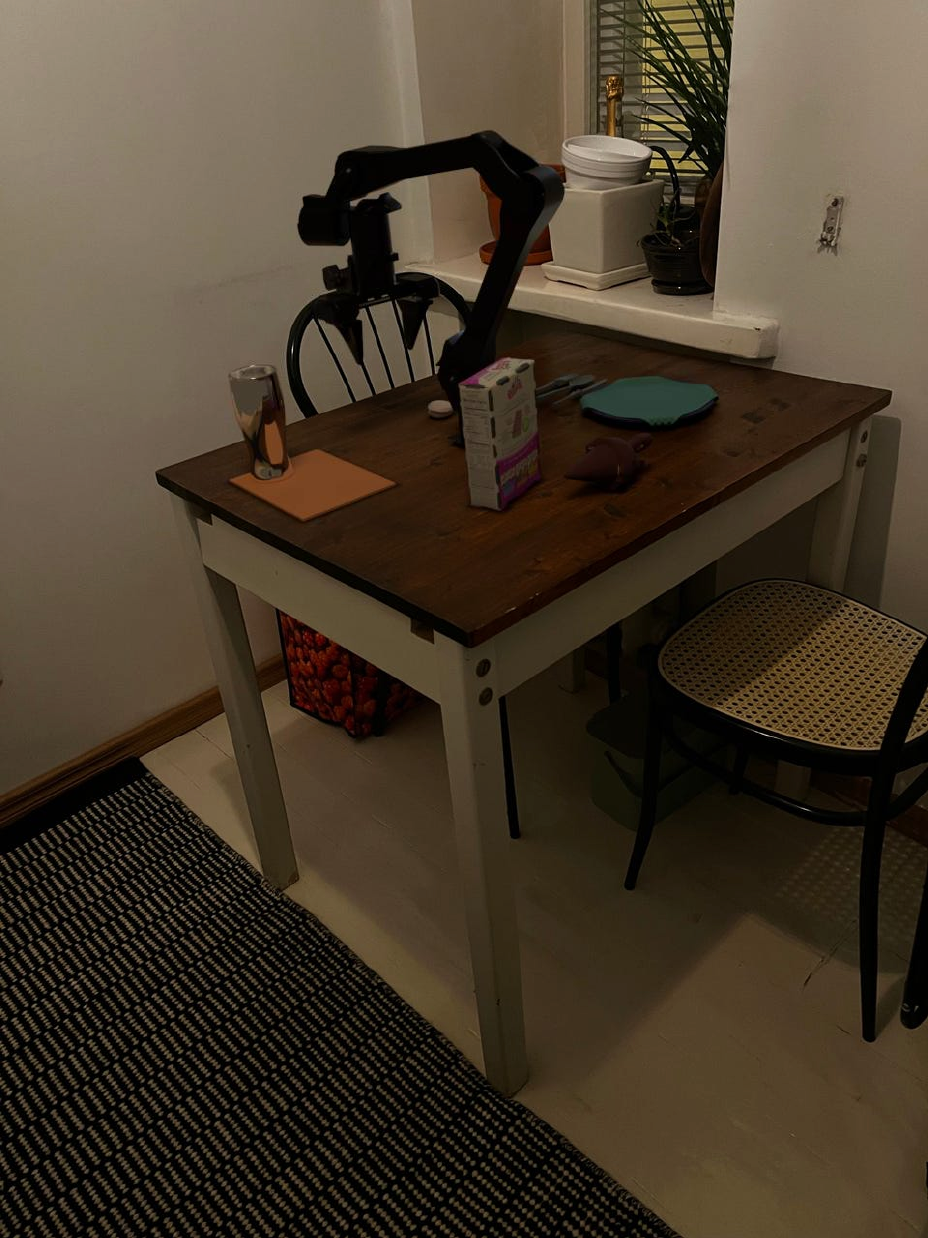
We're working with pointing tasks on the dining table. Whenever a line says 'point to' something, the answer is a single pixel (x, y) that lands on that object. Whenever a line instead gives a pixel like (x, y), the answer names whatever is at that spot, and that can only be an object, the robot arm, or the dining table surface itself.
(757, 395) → the dining table surface
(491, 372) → the candy bar box
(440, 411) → the grey rounded piece
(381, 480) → the cloth
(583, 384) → the cutlery set
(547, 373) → the dining table surface
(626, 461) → the icecream
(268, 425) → the beer glass
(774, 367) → the dining table surface
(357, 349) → the robot arm
